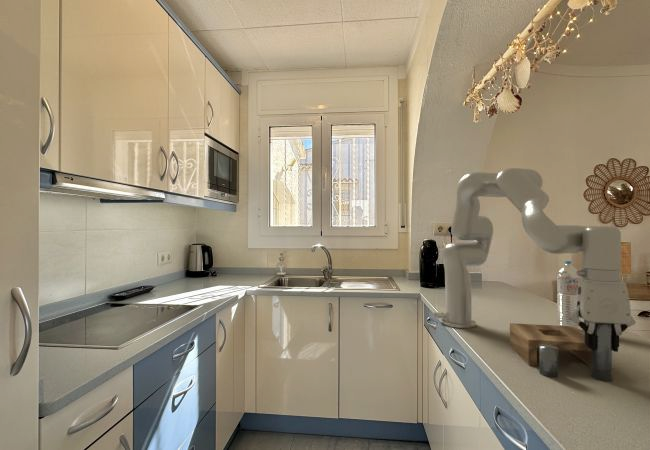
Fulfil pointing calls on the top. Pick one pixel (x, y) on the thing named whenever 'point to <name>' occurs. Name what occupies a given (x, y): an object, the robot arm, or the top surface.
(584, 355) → the bridge
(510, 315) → the top surface
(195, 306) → the top surface
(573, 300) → the water bottle
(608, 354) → the long pin
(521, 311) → the top surface
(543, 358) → the short pin
